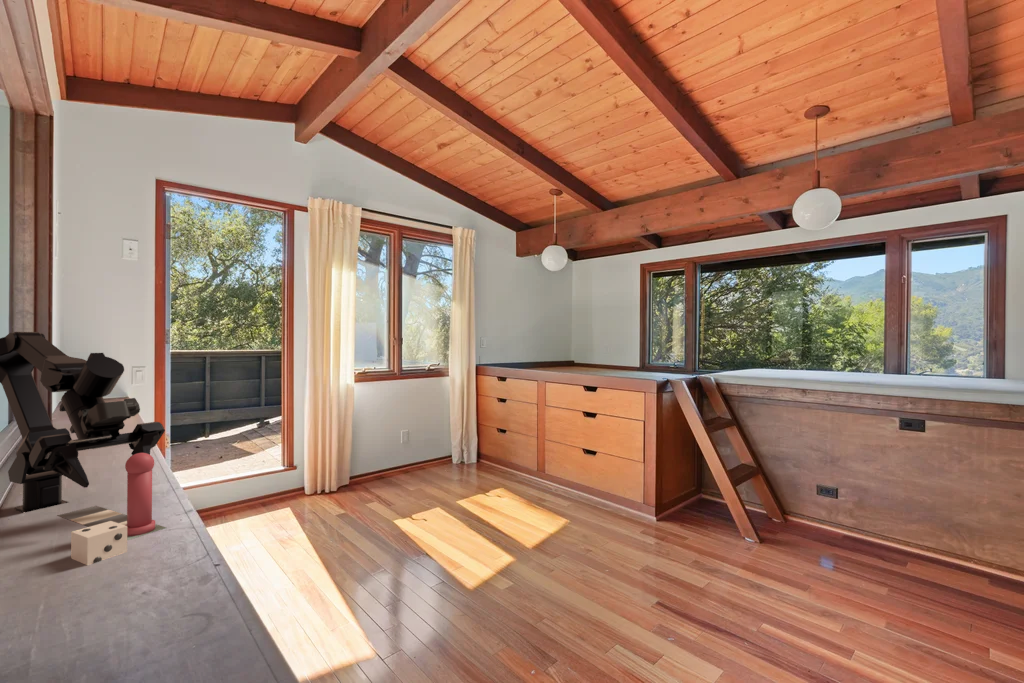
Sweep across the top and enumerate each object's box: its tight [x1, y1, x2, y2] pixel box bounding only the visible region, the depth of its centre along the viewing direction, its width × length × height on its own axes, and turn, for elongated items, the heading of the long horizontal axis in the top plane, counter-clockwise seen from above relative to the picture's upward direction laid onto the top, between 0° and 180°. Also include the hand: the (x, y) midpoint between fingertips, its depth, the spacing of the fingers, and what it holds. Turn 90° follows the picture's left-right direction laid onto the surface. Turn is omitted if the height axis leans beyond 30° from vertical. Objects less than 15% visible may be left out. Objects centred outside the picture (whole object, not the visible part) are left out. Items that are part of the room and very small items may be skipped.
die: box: [70, 521, 128, 566], centre depth 73 cm, size 5×5×5 cm
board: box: [56, 505, 167, 541], centre depth 87 cm, size 25×7×1 cm, turn 64°
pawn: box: [124, 453, 156, 536], centre depth 82 cm, size 4×4×14 cm
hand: (118, 479), depth 85 cm, fingers open, 9 cm apart
